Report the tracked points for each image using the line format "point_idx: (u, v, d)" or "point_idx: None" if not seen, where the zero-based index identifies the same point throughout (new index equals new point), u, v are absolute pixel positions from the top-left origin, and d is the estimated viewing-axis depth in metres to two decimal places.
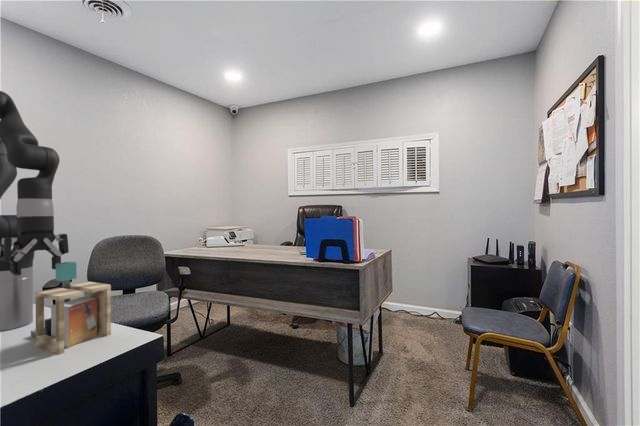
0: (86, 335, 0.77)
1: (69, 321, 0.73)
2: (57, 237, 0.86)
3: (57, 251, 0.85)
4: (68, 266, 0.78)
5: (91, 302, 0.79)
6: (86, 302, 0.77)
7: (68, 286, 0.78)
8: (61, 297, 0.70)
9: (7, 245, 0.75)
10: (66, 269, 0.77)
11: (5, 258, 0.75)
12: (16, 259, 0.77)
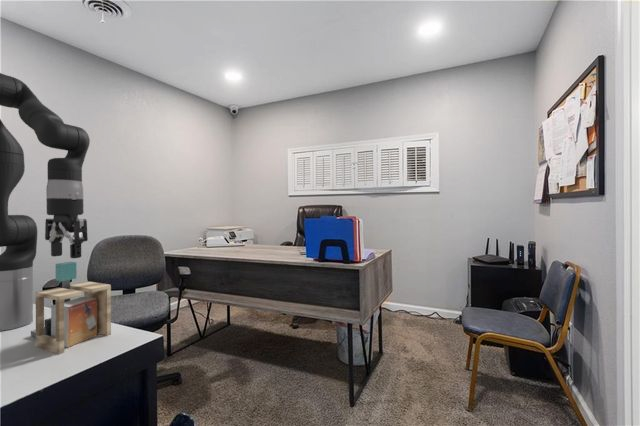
0: (86, 335, 0.77)
1: (69, 320, 0.73)
2: None
3: None
4: (68, 266, 0.78)
5: (91, 302, 0.79)
6: (86, 302, 0.77)
7: (68, 286, 0.78)
8: (61, 297, 0.70)
9: None
10: (66, 269, 0.77)
11: (87, 239, 0.77)
12: None
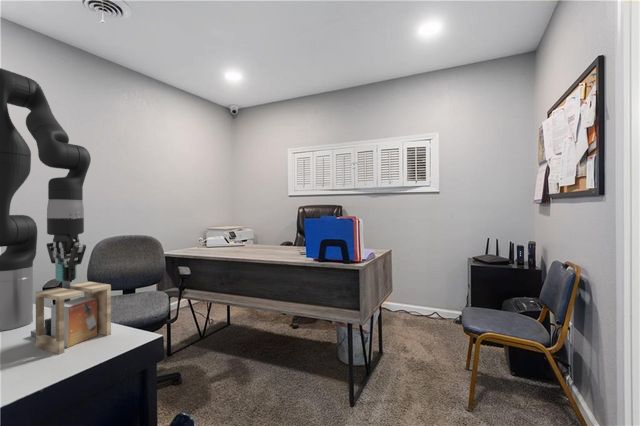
0: (86, 335, 0.77)
1: (69, 321, 0.73)
2: None
3: None
4: None
5: (91, 302, 0.79)
6: (86, 302, 0.77)
7: (68, 286, 0.78)
8: (61, 297, 0.70)
9: None
10: None
11: None
12: None
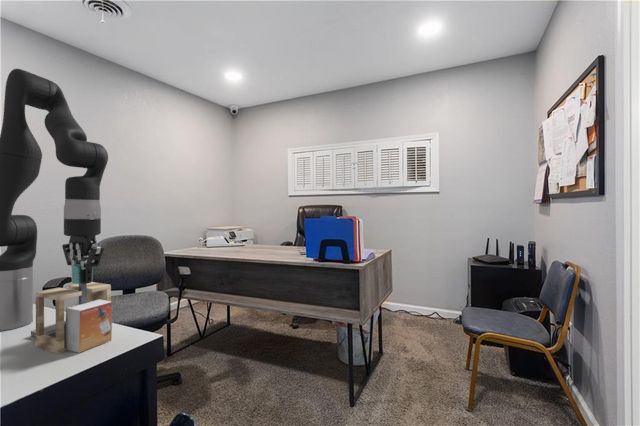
0: (99, 341, 0.74)
1: (80, 325, 0.70)
2: None
3: None
4: None
5: (106, 306, 0.76)
6: (100, 306, 0.74)
7: (85, 289, 0.76)
8: (61, 297, 0.70)
9: None
10: None
11: None
12: None
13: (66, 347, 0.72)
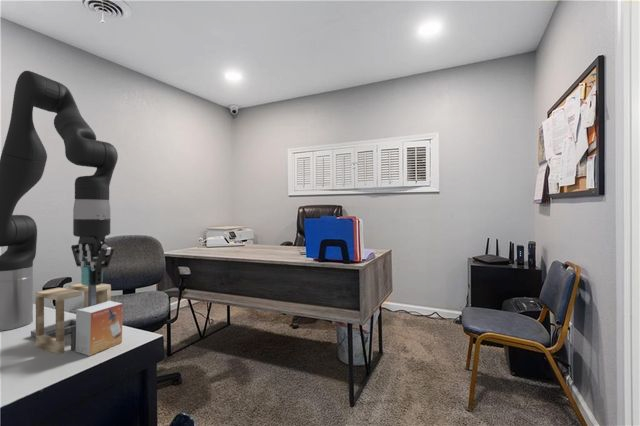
0: (110, 343, 0.73)
1: (91, 327, 0.69)
2: None
3: None
4: None
5: (116, 308, 0.74)
6: (110, 308, 0.73)
7: (94, 290, 0.74)
8: (61, 297, 0.70)
9: None
10: None
11: None
12: None
13: (76, 350, 0.70)
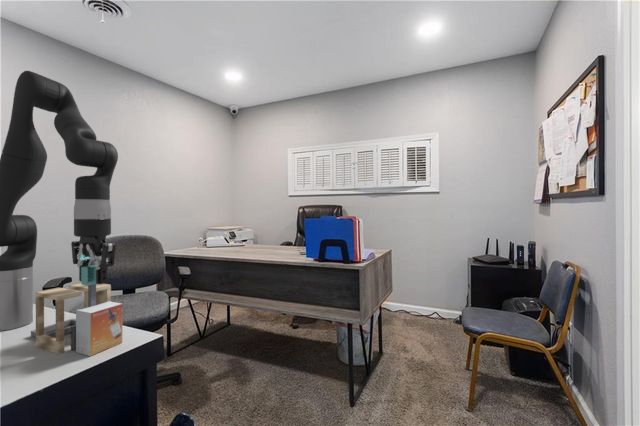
0: (110, 343, 0.73)
1: (91, 328, 0.69)
2: None
3: None
4: (94, 269, 0.74)
5: (116, 308, 0.74)
6: (110, 308, 0.73)
7: (94, 290, 0.74)
8: (61, 297, 0.70)
9: None
10: (92, 272, 0.73)
11: None
12: None
13: (77, 350, 0.70)
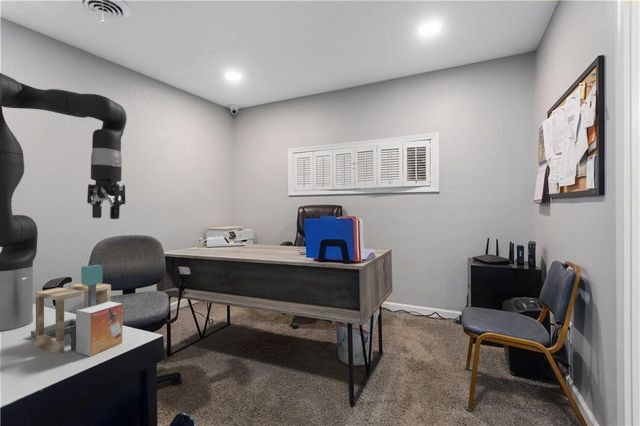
0: (110, 343, 0.73)
1: (91, 328, 0.69)
2: None
3: None
4: (94, 269, 0.74)
5: (116, 308, 0.74)
6: (110, 308, 0.73)
7: (94, 290, 0.74)
8: (61, 297, 0.70)
9: None
10: (92, 272, 0.73)
11: None
12: None
13: (77, 350, 0.70)
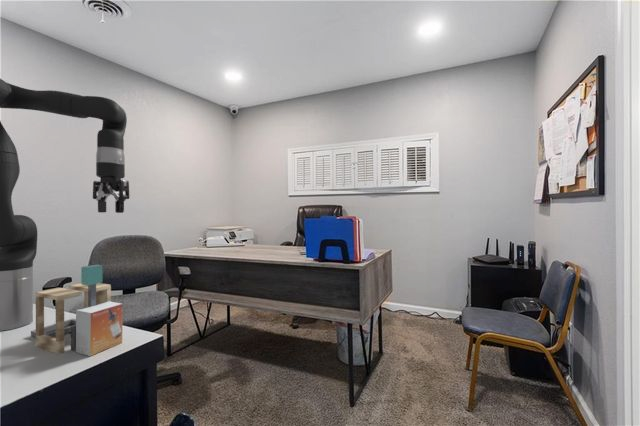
0: (110, 343, 0.73)
1: (91, 328, 0.69)
2: None
3: None
4: (94, 269, 0.74)
5: (116, 308, 0.74)
6: (110, 308, 0.73)
7: (94, 290, 0.74)
8: (61, 297, 0.70)
9: None
10: (92, 272, 0.73)
11: None
12: None
13: (77, 350, 0.70)
